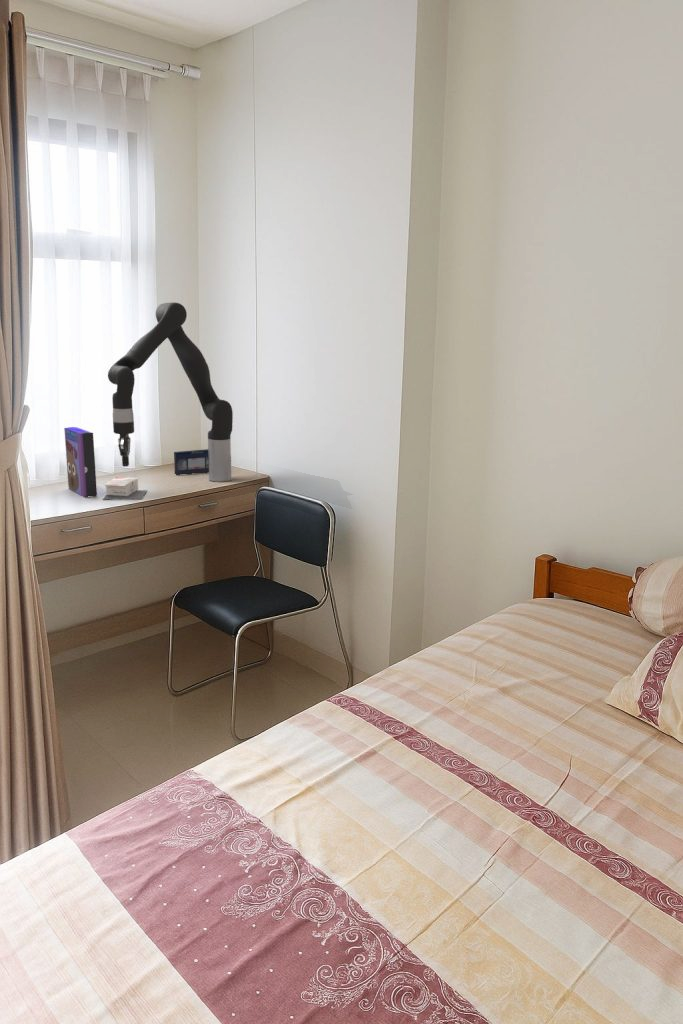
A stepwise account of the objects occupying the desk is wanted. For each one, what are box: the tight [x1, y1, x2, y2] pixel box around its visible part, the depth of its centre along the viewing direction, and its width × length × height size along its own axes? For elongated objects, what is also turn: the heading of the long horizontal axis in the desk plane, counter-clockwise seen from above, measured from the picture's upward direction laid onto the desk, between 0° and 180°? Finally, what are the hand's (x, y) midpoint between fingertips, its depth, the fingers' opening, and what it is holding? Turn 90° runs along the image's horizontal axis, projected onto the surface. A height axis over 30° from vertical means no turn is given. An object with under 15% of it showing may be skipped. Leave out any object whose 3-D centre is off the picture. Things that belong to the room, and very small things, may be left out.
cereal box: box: [63, 426, 98, 498], centre depth 294 cm, size 17×5×24 cm, turn 37°
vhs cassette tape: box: [173, 448, 209, 476], centre depth 335 cm, size 18×3×10 cm, turn 119°
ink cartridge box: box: [103, 476, 139, 496], centre depth 294 cm, size 9×5×15 cm
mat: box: [102, 489, 148, 500], centre depth 293 cm, size 14×14×1 cm
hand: (125, 465), depth 294 cm, fingers closed
